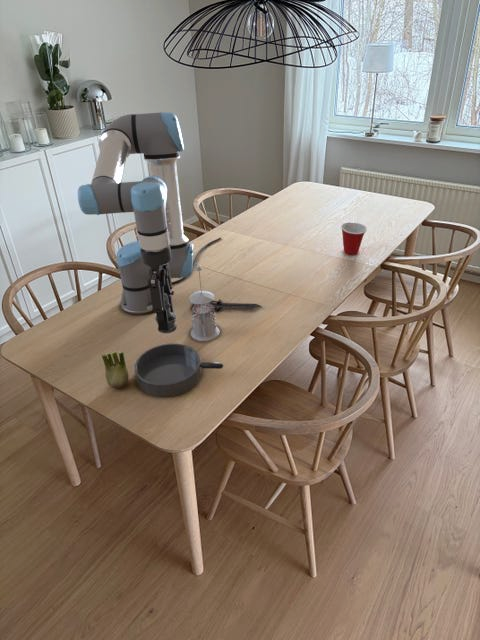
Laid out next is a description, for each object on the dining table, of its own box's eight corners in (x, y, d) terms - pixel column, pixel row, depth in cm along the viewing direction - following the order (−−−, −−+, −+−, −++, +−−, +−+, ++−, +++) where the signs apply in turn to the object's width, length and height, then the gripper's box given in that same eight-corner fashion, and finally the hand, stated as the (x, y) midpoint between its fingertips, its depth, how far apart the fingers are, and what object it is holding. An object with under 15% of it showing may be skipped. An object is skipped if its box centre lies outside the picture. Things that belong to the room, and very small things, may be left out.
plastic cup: (359, 260, 197) (362, 233, 191) (334, 255, 202) (336, 228, 196) (367, 250, 205) (371, 224, 198) (344, 245, 210) (346, 220, 203)
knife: (262, 306, 171) (262, 302, 170) (259, 315, 166) (259, 312, 165) (196, 300, 176) (195, 297, 175) (191, 309, 170) (190, 306, 170)
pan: (145, 354, 150) (143, 343, 147) (205, 355, 148) (204, 343, 146) (129, 396, 134) (126, 384, 131) (196, 397, 132) (195, 385, 130)
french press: (220, 323, 162) (215, 258, 148) (218, 344, 153) (213, 276, 139) (191, 324, 163) (184, 259, 149) (188, 344, 153) (180, 277, 139)
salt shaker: (159, 321, 135) (153, 285, 128) (179, 322, 134) (174, 285, 128) (154, 333, 130) (148, 296, 124) (175, 334, 130) (169, 296, 123)
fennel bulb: (131, 381, 139) (124, 348, 132) (124, 392, 135) (116, 359, 129) (113, 378, 140) (105, 346, 134) (106, 389, 136) (97, 357, 130)
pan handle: (199, 369, 138) (199, 364, 137) (200, 365, 139) (200, 360, 138) (223, 369, 137) (222, 365, 136) (223, 366, 139) (223, 361, 138)
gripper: (149, 231, 127) (160, 304, 139) (130, 263, 111) (145, 342, 124) (176, 231, 126) (185, 304, 139) (161, 263, 110) (173, 343, 123)
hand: (166, 322), depth 131 cm, fingers closed on salt shaker, 6 cm apart
